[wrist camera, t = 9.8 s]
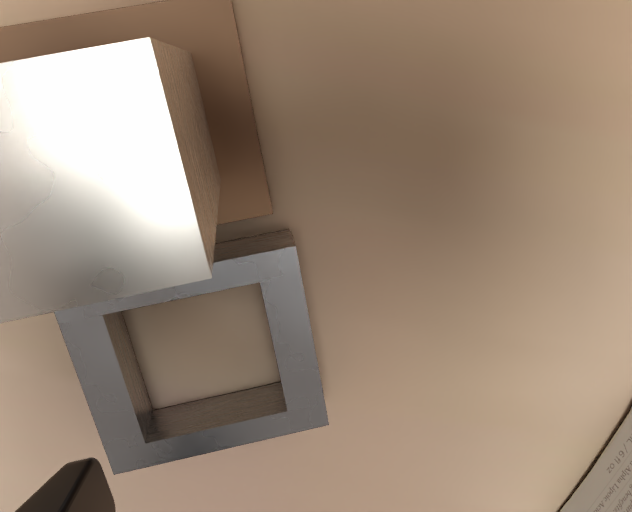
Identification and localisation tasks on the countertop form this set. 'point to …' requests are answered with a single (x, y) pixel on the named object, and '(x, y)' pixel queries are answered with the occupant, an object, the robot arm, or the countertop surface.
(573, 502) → the skincare box
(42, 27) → the walnut pad
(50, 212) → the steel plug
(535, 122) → the countertop surface
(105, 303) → the square metal frame
